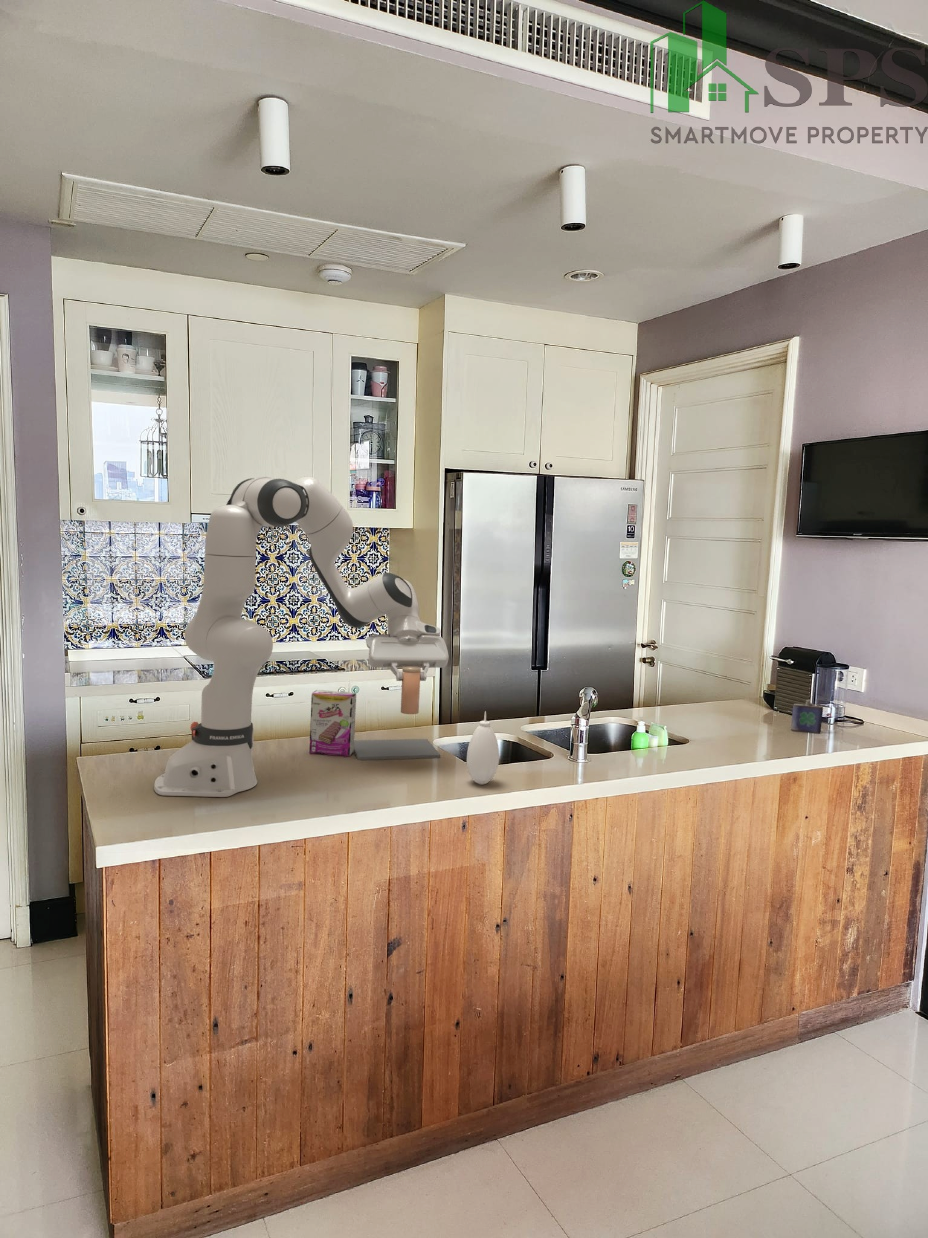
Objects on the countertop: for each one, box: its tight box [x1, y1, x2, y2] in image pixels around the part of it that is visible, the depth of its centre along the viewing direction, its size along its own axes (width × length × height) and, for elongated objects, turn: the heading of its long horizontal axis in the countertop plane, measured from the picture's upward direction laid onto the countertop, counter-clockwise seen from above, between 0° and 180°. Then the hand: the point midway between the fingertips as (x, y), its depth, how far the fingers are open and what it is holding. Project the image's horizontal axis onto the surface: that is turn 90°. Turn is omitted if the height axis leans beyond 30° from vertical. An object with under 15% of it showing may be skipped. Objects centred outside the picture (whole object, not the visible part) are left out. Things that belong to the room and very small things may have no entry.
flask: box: [790, 699, 824, 735], centre depth 273 cm, size 9×3×11 cm, turn 76°
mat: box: [353, 738, 441, 761], centre depth 227 cm, size 22×16×1 cm
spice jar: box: [400, 666, 422, 715], centre depth 208 cm, size 4×4×11 cm
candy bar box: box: [308, 689, 357, 757], centre depth 221 cm, size 11×5×16 cm, turn 84°
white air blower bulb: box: [466, 710, 500, 785], centre depth 202 cm, size 8×8×18 cm
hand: (411, 679), depth 207 cm, fingers closed on spice jar, 4 cm apart
